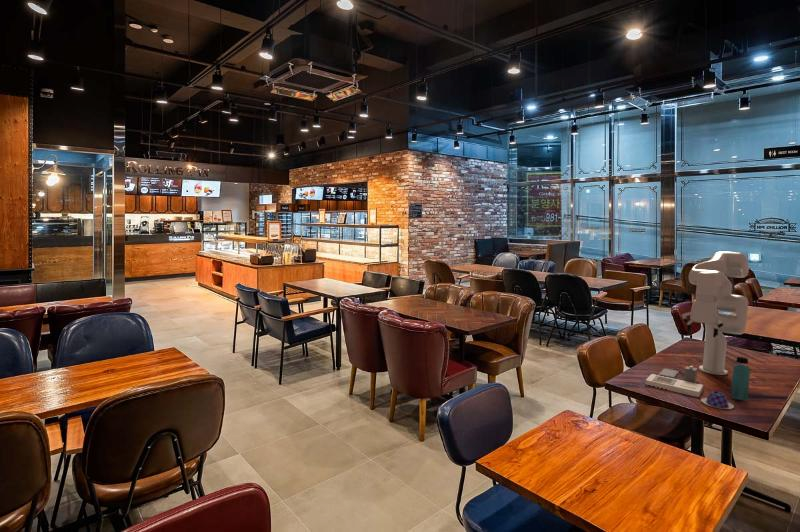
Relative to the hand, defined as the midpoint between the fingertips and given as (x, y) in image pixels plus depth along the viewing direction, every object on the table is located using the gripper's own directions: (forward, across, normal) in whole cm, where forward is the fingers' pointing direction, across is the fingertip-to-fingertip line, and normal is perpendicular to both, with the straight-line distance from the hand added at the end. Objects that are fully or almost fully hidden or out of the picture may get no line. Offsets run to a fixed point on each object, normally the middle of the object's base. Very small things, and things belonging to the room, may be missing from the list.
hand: (701, 334), depth 208 cm
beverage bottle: (+28, -16, -1) cm, 32 cm away
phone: (+28, +15, -20) cm, 38 cm away
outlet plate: (+28, +9, 0) cm, 29 cm away
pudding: (+28, -9, +10) cm, 31 cm away
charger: (+28, +4, -11) cm, 30 cm away
